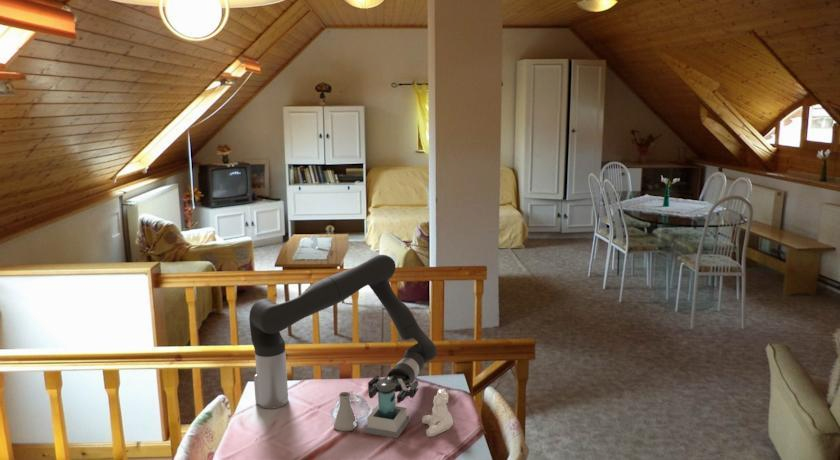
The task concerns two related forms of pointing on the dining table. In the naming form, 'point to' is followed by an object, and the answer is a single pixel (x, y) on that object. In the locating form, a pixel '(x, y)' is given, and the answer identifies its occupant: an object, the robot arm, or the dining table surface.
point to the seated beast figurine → (438, 415)
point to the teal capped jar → (386, 398)
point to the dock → (387, 423)
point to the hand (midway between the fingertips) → (384, 397)
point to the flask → (344, 414)
